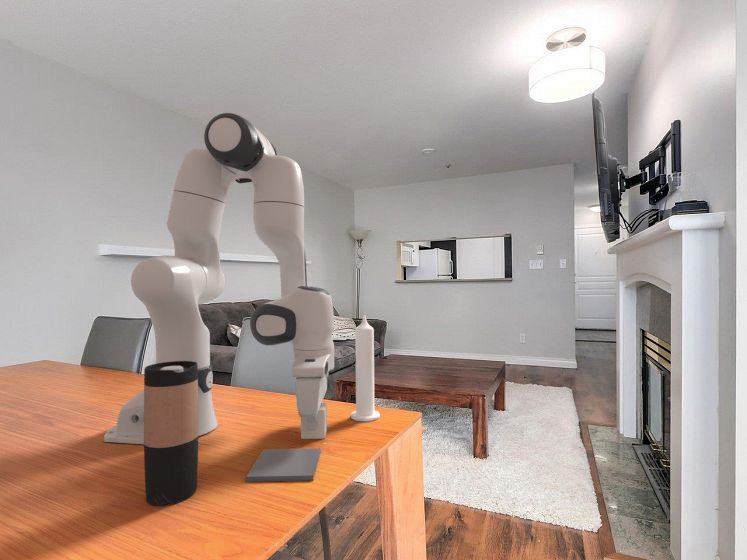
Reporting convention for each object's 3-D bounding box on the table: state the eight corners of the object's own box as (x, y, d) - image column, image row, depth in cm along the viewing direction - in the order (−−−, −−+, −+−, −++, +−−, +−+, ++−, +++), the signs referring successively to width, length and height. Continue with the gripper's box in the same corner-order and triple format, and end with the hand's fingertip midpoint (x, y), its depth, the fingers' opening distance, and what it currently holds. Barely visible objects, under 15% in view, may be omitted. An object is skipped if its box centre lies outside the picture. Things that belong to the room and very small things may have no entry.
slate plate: (246, 481, 66) (246, 476, 66) (263, 453, 77) (263, 449, 77) (313, 480, 66) (313, 475, 66) (320, 452, 77) (320, 448, 77)
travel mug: (157, 482, 66) (157, 361, 66) (205, 480, 66) (205, 360, 66) (133, 508, 58) (133, 371, 58) (188, 505, 59) (187, 369, 59)
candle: (376, 422, 93) (375, 316, 94) (347, 420, 95) (346, 315, 95) (382, 413, 100) (381, 313, 101) (354, 411, 102) (354, 313, 102)
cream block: (300, 438, 84) (300, 410, 84) (304, 430, 89) (304, 403, 89) (324, 438, 84) (324, 410, 84) (327, 429, 89) (326, 403, 89)
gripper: (306, 352, 97) (307, 409, 97) (290, 370, 76) (290, 443, 76) (332, 352, 97) (333, 409, 97) (323, 370, 77) (323, 442, 76)
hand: (314, 424), depth 86 cm, fingers closed on cream block, 5 cm apart
